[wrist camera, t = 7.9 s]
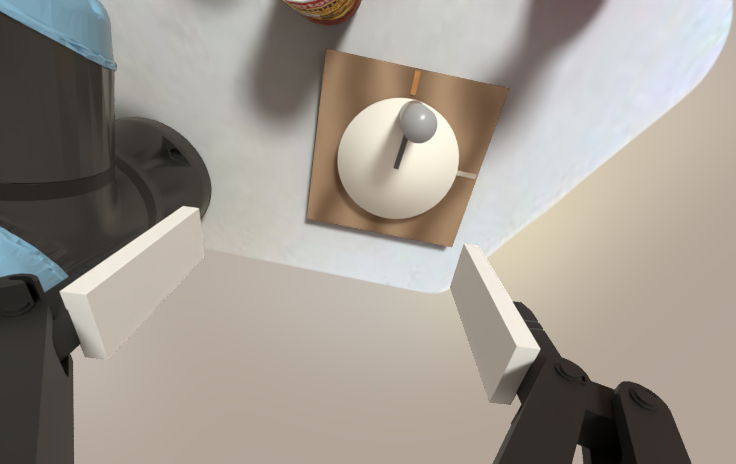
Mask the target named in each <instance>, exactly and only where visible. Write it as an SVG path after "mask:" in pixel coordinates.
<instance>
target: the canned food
mask: <svg viewBox="0 0 736 464" xmlns="http://www.w3.org/2000/svg"><path fill="white" fill-rule="evenodd" d="M282 1H284V2H285V3H286V4H288V5H289V6H291V7H292V8H293V9H295V10H296V11H297V12H299V13H300V14H302V15H303V16H304V17H306V18H307V19H308V20H310V21H312V22H314V23H316V24H318V25H323V26H334V25H339V24H341V23H343V22H345V21H347V20H348V19H349V18H350V17H351V16H352V15H353V14H354V13H355V12H356V10H357V8H358V7H359V5H360V3H361V0H282Z"/></svg>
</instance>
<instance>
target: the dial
mask: <svg viewBox="0 0 736 464" xmlns="http://www.w3.org/2000/svg"><path fill="white" fill-rule="evenodd" d="M337 163H338V171H339V175H340V179H341V182H342V184H343V186H344V188H345V190H346V192H347V193H348V195H349V196H350V197H351V198H352V200H353V201H354V202H355V203H356V204H358V205H359V206H360V207H361V208H363V209H364V210H366V211H367V212H370V213H372V214H374V215H377V216H380V217H384V218H390V219H403V218H410V217H413V216H417V215H419V214H422V213H424V212H426V211H428V210H429V209H431V208H432V207H434V206H435V205H436V204H437V203H438V202H440V201H441V200H442V199H443V197H444V196H445V195H446V194H447V192H448V191H449V189H450V188H451V186H452V184H453V182H454V180H455V177H456V174H457V170H458V164H459V150H458V144H457V140H456V137H455V135H454V132H453V130H452V128H451V127H450V125H449V124H448V122H447V121H446V119H445V118H444V117H443V116H442V115H441V114H440V113H439V112H437V111H436V110H435V109H433V108H432V107H430V106H429V105H427V104H425V103H423V102H420V101H418V100H414V99H410V98H389V99H384V100H381V101H378V102H376V103H374V104H372V105H370V106H368V107H367V108H365V109H364V110H362V111H361V112H360V113H359V114H358V115H357V116H356V117H355V118H354V119H353V120H352V122H351V123H350V124H349V125H348V127H347V129H346V130H345V132H344V134H343V136H342V139H341V142H340V145H339V150H338V162H337Z"/></svg>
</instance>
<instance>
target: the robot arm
mask: <svg viewBox="0 0 736 464" xmlns="http://www.w3.org/2000/svg"><path fill="white" fill-rule="evenodd" d="M114 71H117V65H116V63H115V62H114V58H113V48H112V37H111V23H110V19H109V16H108V13H107V11H106V9H105V8H104V6H103V5H102V4H101V2H100V1H99V0H0V464H74V422H73V421H74V418H73V417H74V415H73V360H72V357H71V355H70V353H71V352H72V351H73V350H74V349H75V348H76V347H77V346H79V345H80V346H81V348H82V351H83V353H84V356H85V357H89V358H98V359H107V360H108V359H109V358H110V357H111V356H112V355H113V354H114V353H115V352H116V351H117V350H118V349H119V348H120V347H121V346H122V345H123V343H124V342H125V341H126V340H127V339H128V338H129V337H130V336H131V335H132V334H133V333H134V331H136V330H137V328H138V327H139V326H140V325H141V324H142V323H143V322H144V321H145V320H146V319H147V318H148V317H149V315H150V314H151V313H152V312H153V311H154V310H155V309H156V308H157V307H158V306H159V305H160V304H161V303H162V301H164V299H165V298H166V297H167V296H168V295H169V294H170V293H171V292H172V291H173V290H174V289H175V288H176V287H177V286H178V284H179V283H180V282H181V281H182V280H183V279H184V278H185V277H186V276H187V275H188V274H189V273H190V272H191V271H192V270H193V268H194V267H195V266H196V265H197V264H198V263H199V262H200V261H201V260H202V259H203V258H204V257H205V254H204V245H203V237H202V229H201V220H200V217H201V216H202V215H203V214H204V213H205V211H206V209H207V207H208V205H209V202H210V197H211V183H210V178H209V174H208V171H207V168H206V166H205V164H204V162H203V160H202V158H201V156H200V155H199V153H198V152H197V151H196V149H195V148H194V147H193V146H192V145H191V143H190V142H189V141H188V140H187V139H185V138H184V137H183V136H182V135H181V134H179V133H178V132H177V131H175V130H174V129H172V128H171V127H169V126H167V125H165V124H163V123H160V122H158V121H155V120H152V119H147V118H140V117H132V118H125V119H119V120H114ZM450 289H451V292H452V294H453V297H454V300H455V303H456V306H457V309H458V311H459V315H460V318H461V321H462V324H463V327H464V329H465V332H466V335H467V338H468V341H469V344H470V347H471V350H472V353H473V356H474V358H475V361H476V364H477V367H478V370H479V373H480V376H481V379H482V382H483V385H484V388H485V390H486V393H487V396H488V399H489V402H491V403H499V404H508V405H511V403H512V401H513V400H514V398H515V396H516V394H517V395H518V397H519V400H520V402H521V404H522V405H521V407H520V408H519V410H518V412H517V414H516V415H515V417H514V419H513V421H512V423H511V427H510V429H509V431H508V433H507V435H506V437H505V439H504V441H503V443H502V446H501V447H500V449H499V452H498V454H497V456H496V458H495V460H494V462H493V464H572V461H573V457H574V453H575V449H576V445H577V444H578V445H581V446H582V454H583V464H691V461H690V459H689V456H688V454H687V451H686V449H685V446H684V444H683V441H682V439H681V436H680V433H679V431H678V429H677V426H676V423H675V421H674V418H673V416H672V414H671V411H670V410H669V408H668V406H667V405H666V404H665V403H664V402H663V401H662V400H661V399H660V398H659V397H658V396H657V395H656V394H655V393H653V392H652V391H650V390H649V389H647V388H645V387H643V386H641V385H639V384H637V383H633V382H629V381H628V382H625V381H624V382H621V383H620V384H619V385H618V386H617V388H616V389H615V390H614V389H612V388H609V387H606V386H603V385H601V384H598V383H595V382H592V381H591V380H590V379H589V377H588V375H587V374H586V373H585V372H584V371H583V370H582V369H581V368H580V367H579V366H578V365H576V364H575V363H573V362H571V361H569V360H567V359H565V358H562V357H561V356H560V354H559V353H558V351H557V350H556V348H555V346H554V345H553V343H552V342H551V340H550V339H549V337H548V336H547V334H546V333H545V331H543V328H542V326H541V325H540V324H539V323H538V320H537V319H536V317H535V316H534V314H533V313H532V311H531V310H530V309H528V308H527V307H526V306H525V305H524V304H522V303H521V302H514V301H512V300H511V299H510V297H509V295H508V293H507V292H506V290H505V288H504V287H503V285H502V284H501V282H500V280H499V278H498V277H497V275H496V273H495V272H494V270H493V269H492V266H491V265H490V264H489V262H488V260H487V258H486V256H485V255H484V253H483V251H482V250H481V248H480V246H479V245H473V244H465V243H464V245H463V248H462V251H461V254H460V258H459V261H458V264H457V267H456V270H455V273H454V277H453V280H452V283H451V286H450Z"/></svg>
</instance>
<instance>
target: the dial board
mask: <svg viewBox="0 0 736 464" xmlns="http://www.w3.org/2000/svg"><path fill="white" fill-rule="evenodd" d="M508 91H509V88H505V87H500V86H496V85H491V84H487V83H482V82H477V81H473V80H468V79H464V78H459V77H454V76H450V75H445V74H441V73H436V72H431V71H427V70H422V69H418V68H413V67H408V66H404V65H399V64H395V63H390V62H385V61H381V60H376V59H372V58H367V57H362V56H358V55H353V54H349V53H344V52H340V51H335V50H330V49H326V54H325V63H324V72H323V80H322V89H321V98H320V107H319V115H318V124H317V133H316V142H315V151H314V159H313V168H312V177H311V186H310V194H309V203H308V212H307V219H312V220H317V221H322V222H327V223H332V224H337V225H342V226H347V227H352V228H358V229H363V230H368V231H373V232H378V233H383V234H388V235H393V236H398V237H403V238H408V239H413V240H418V241H423V242H428V243H433V244H438V245H443V246H448V247H452V246H453V243H454V240H455V237H456V235H457V232H458V229H459V226H460V224H461V221H462V218H463V215H464V212H465V210H466V207H467V204H468V201H469V199H470V196H471V193H472V190H473V188H474V185H475V182H476V179H477V176H478V174H479V171H480V168H481V165H482V163H483V160H484V157H485V154H486V152H487V149H488V146H489V143H490V140H491V138H492V135H493V132H494V129H495V127H496V124H497V121H498V118H499V115H500V113H501V110H502V107H503V104H504V102H505V99H506V96H507V93H508ZM389 98H410V99H414V100H418V101H420V102H423V103H425V104H427V105H429V106H430V107H432V108H433V109H435V110H436V111H437V112H439V113H440V114H441V115H442V116H443V117H444V118H445V119H446V121H447V122H448V124H449V125H450V127H451V128H452V130H453V132H454V135H455V137H456V140H457V144H458V150H459V164H458V170H457V174H456V177H455V180H454V182H453V184H452V186H451V188H450V189H449V191H448V192H447V194H446V195H445V196H444V197H443V199H442V200H441V201H440V202H438V203H437V204H436V205H435V206H434V207H432V208H431V209H429V210H428V211H426V212H424V213H422V214H419V215H417V216H413V217H410V218H403V219H390V218H384V217H380V216H377V215H374V214H372V213H370V212H367V211H366V210H364V209H363V208H361V207H360V206H359V205H358V204H356V203H355V202H354V201H353V200H352V198H351V197H350V196H349V195H348V193H347V192H346V190H345V188H344V186H343V184H342V182H341V179H340V175H339V171H338V163H337V162H338V150H339V145H340V142H341V139H342V136H343V134H344V132H345V130H346V129H347V127H348V125H349V124H350V123H351V122H352V120H353V119H354V118H355V117H356V116H357V115H358V114H359V113H360V112H361V111H362V110H364V109H365V108H367V107H368V106H370V105H372V104H374V103H376V102H378V101H381V100H384V99H389Z"/></svg>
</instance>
